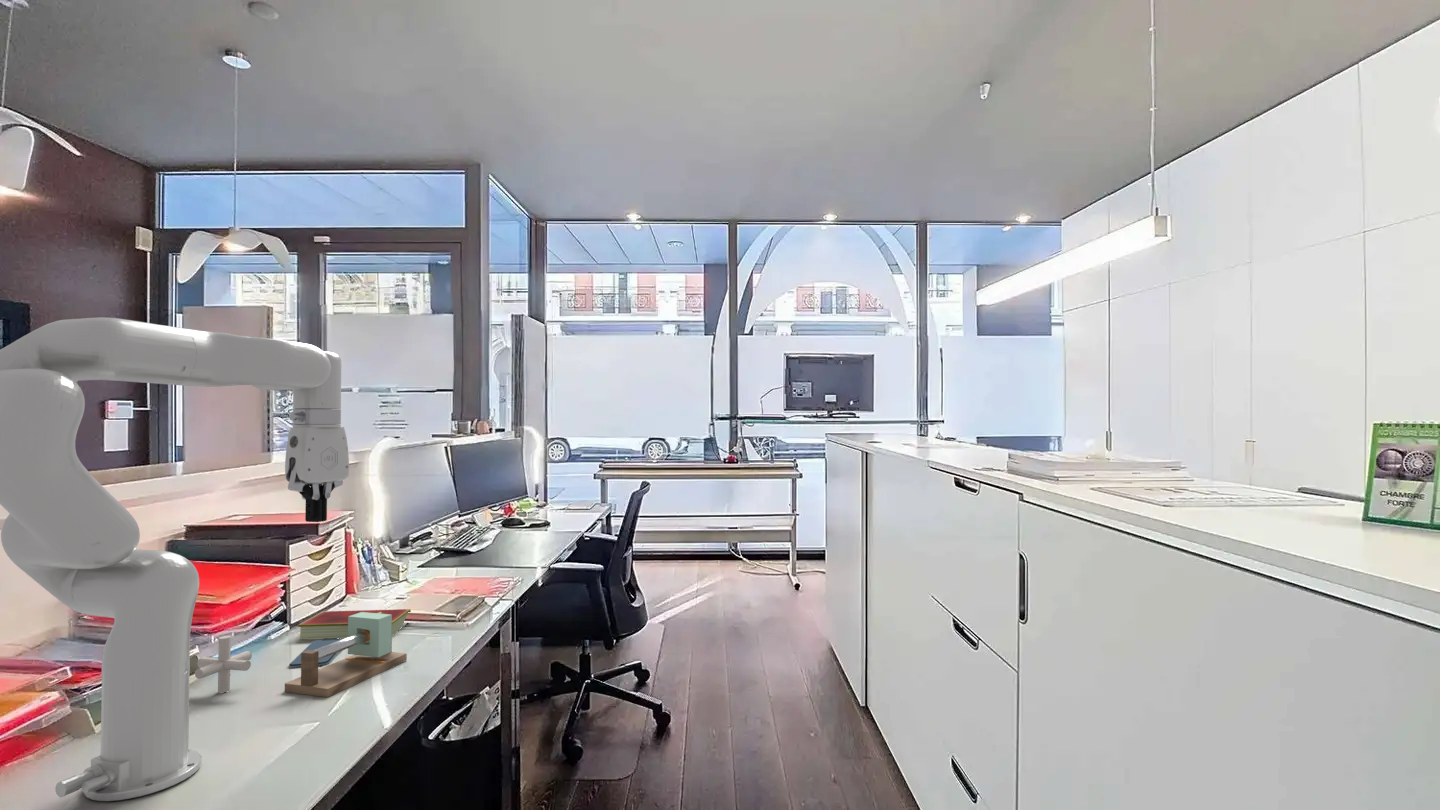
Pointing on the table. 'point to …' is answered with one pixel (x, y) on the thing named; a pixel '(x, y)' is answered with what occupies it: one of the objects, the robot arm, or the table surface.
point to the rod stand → (340, 668)
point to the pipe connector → (223, 664)
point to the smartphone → (314, 645)
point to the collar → (371, 633)
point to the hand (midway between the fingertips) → (316, 521)
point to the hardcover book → (343, 623)
